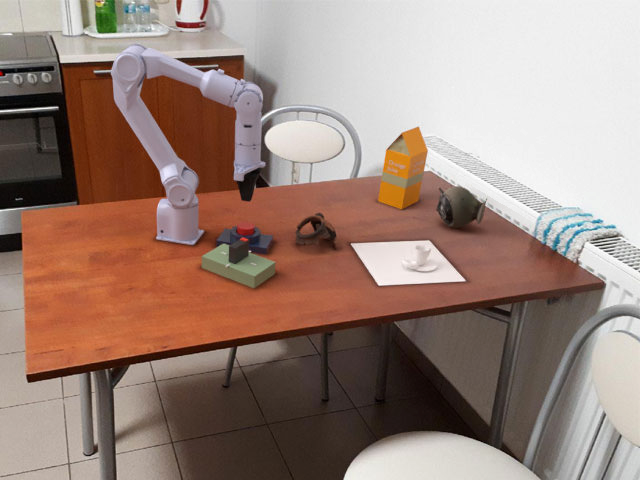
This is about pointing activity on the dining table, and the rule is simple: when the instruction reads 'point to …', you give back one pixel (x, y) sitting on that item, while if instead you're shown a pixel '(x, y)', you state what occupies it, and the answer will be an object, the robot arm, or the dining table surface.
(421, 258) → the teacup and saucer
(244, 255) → the grey box red tab
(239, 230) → the button
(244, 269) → the green toggle switch panel
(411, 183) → the orange juice
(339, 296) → the dining table surface
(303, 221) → the dark brown ringed frame
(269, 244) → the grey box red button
